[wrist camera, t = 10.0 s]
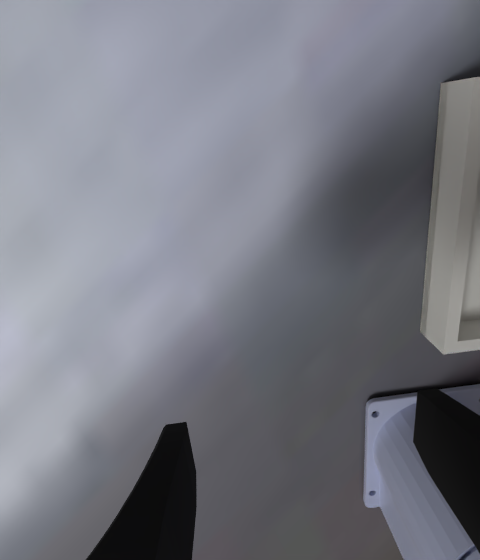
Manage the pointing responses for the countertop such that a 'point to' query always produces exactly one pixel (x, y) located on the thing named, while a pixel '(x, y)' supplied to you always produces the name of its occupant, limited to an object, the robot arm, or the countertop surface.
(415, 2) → the countertop surface
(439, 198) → the tray
